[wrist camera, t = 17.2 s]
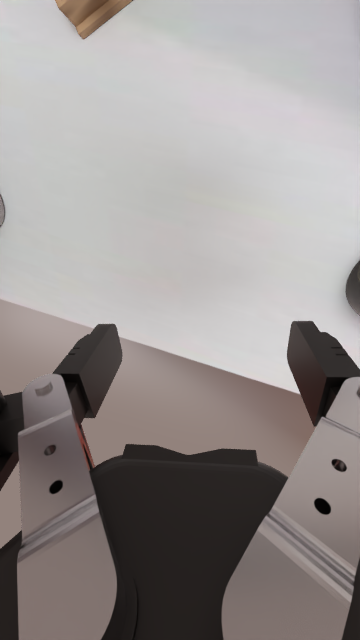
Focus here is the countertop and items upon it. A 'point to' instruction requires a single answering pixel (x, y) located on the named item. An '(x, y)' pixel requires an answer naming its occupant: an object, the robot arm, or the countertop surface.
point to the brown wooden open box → (90, 13)
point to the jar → (354, 289)
